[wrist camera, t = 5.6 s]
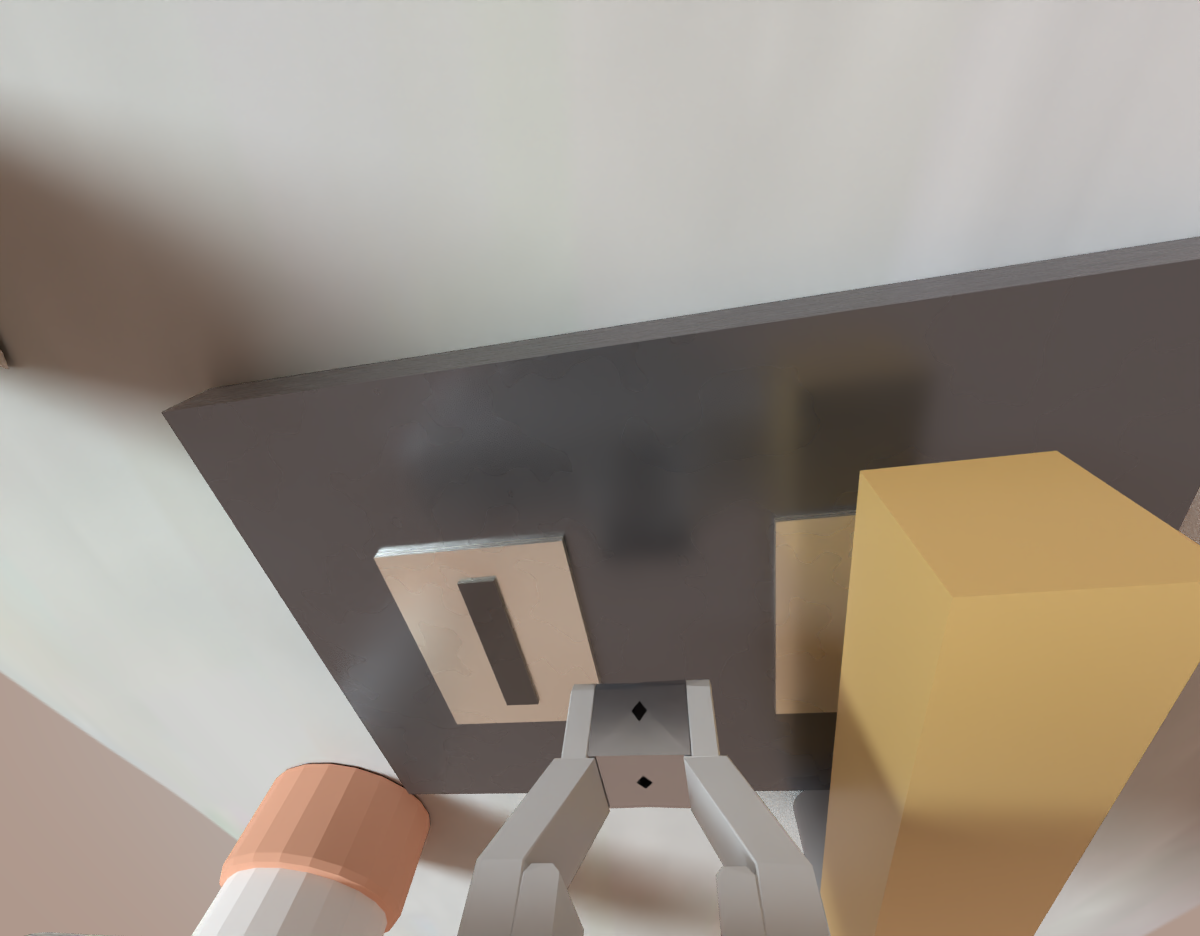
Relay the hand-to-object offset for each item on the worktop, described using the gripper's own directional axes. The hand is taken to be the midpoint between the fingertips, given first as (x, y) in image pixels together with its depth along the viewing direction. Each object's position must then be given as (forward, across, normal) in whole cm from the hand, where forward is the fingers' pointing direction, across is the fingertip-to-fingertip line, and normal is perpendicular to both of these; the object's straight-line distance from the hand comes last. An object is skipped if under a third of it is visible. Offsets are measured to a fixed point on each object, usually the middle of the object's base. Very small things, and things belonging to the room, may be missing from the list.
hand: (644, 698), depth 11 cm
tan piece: (+4, -6, +4) cm, 8 cm away
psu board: (+4, -1, +1) cm, 4 cm away
